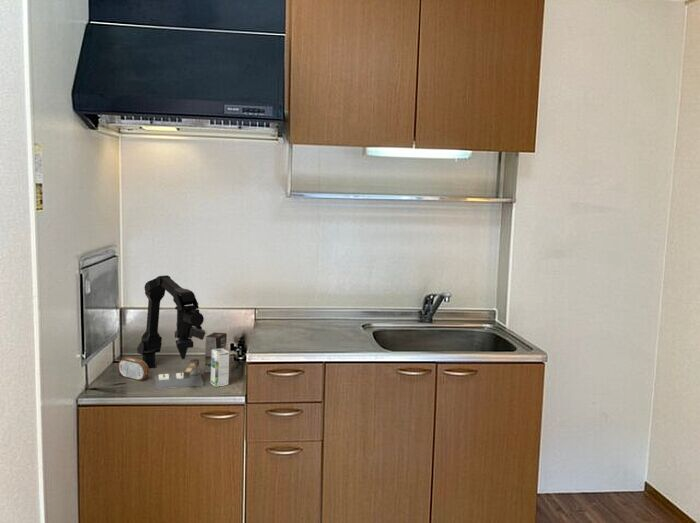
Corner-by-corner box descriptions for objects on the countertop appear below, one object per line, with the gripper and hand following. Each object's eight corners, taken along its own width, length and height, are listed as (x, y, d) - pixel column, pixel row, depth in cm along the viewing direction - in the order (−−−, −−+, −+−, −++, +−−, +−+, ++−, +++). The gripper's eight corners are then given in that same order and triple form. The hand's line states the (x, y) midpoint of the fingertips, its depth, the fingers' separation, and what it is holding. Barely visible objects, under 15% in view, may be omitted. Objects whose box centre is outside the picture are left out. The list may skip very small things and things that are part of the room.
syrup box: (210, 383, 231) (210, 349, 230) (223, 381, 235) (223, 347, 233) (215, 387, 227) (216, 352, 225) (229, 385, 230) (229, 351, 229)
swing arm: (191, 363, 239) (191, 358, 239) (199, 363, 239) (199, 358, 239) (181, 378, 219) (181, 373, 219) (190, 378, 220) (191, 373, 219)
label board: (154, 378, 234) (154, 366, 234) (199, 375, 241) (200, 363, 240) (155, 389, 221) (155, 376, 221) (203, 385, 228) (203, 373, 227)
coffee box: (218, 373, 245) (218, 337, 243) (204, 372, 246) (204, 336, 244) (226, 367, 254) (227, 333, 252) (213, 366, 255) (214, 331, 253)
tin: (149, 380, 232) (149, 360, 231) (143, 382, 229) (143, 362, 228) (123, 374, 238) (122, 355, 237) (117, 376, 235) (117, 357, 234)
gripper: (207, 326, 221) (205, 364, 223) (202, 316, 238) (201, 351, 240) (177, 327, 217) (176, 366, 219) (174, 316, 234) (174, 352, 236)
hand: (183, 358), depth 229 cm, fingers closed
